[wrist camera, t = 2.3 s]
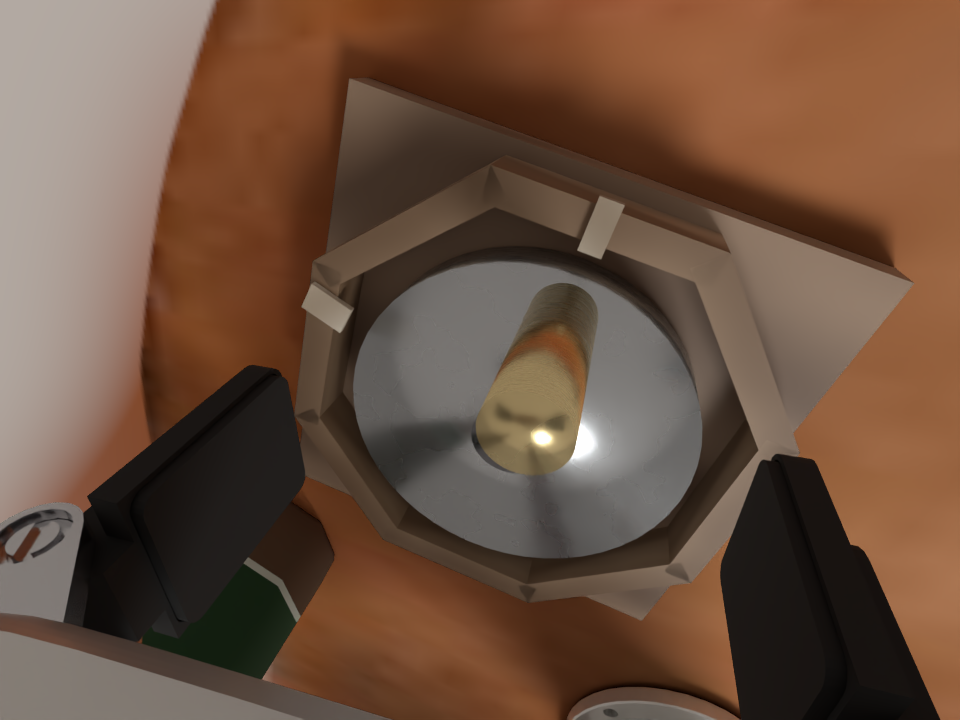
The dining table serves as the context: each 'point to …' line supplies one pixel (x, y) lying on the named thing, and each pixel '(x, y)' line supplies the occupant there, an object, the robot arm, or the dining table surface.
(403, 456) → the dial
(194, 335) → the dining table surface
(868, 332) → the dial housing
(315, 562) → the beer bottle
